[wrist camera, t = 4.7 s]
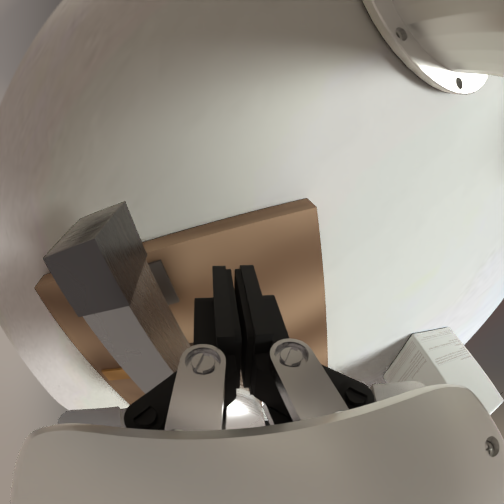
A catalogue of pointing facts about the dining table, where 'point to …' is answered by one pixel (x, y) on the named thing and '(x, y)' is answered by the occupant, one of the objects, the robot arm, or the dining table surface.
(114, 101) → the dining table surface
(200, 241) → the post base
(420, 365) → the supplement box
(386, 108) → the dining table surface
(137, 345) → the square-handled spoon
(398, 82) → the dining table surface
